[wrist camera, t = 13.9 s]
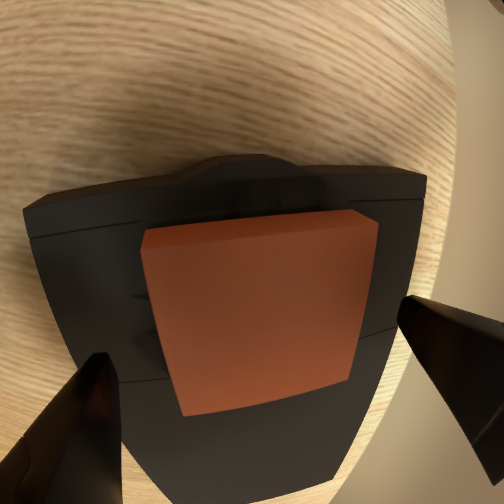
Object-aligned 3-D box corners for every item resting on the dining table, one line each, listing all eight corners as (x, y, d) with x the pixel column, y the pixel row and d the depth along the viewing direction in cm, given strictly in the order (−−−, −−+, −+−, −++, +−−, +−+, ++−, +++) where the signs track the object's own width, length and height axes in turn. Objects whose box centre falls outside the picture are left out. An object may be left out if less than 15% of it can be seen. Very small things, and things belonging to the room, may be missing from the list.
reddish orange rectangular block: (315, 191, 11) (379, 222, 7) (307, 321, 13) (348, 379, 10) (151, 205, 10) (139, 249, 6) (176, 343, 12) (183, 417, 8)
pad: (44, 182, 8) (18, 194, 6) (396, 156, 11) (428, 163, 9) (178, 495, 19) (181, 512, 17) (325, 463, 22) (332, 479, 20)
